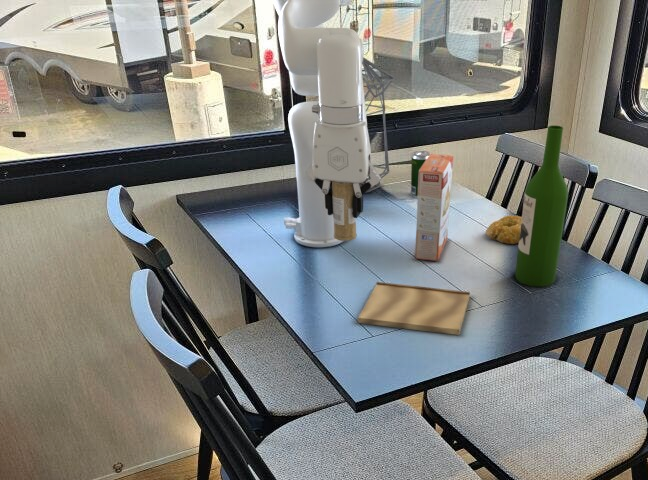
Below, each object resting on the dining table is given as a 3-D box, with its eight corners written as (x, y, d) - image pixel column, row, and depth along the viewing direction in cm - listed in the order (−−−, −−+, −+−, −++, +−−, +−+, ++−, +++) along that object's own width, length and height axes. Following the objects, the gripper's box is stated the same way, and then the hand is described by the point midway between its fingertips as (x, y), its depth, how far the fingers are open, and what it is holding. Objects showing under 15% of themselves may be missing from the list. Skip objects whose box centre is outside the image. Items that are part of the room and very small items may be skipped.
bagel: (484, 229, 176) (485, 211, 173) (526, 231, 176) (529, 213, 173) (486, 244, 168) (487, 226, 165) (531, 246, 168) (533, 227, 165)
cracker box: (439, 262, 158) (444, 172, 146) (414, 259, 159) (416, 169, 147) (449, 239, 170) (454, 154, 158) (425, 237, 170) (428, 152, 159)
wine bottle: (507, 273, 154) (524, 123, 136) (541, 267, 158) (562, 120, 139) (527, 289, 148) (548, 134, 129) (562, 283, 151) (587, 131, 132)
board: (357, 322, 134) (357, 316, 133) (377, 287, 147) (377, 281, 146) (459, 335, 131) (459, 328, 130) (469, 297, 144) (470, 291, 143)
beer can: (419, 200, 193) (421, 157, 186) (406, 195, 196) (407, 152, 189) (433, 196, 196) (435, 153, 189) (420, 191, 199) (421, 149, 192)
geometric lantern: (367, 199, 192) (365, 64, 172) (323, 188, 199) (317, 56, 179) (399, 185, 203) (400, 56, 183) (356, 175, 210) (353, 49, 190)
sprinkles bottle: (360, 239, 132) (359, 170, 125) (338, 243, 131) (335, 173, 123) (351, 231, 136) (350, 163, 128) (329, 234, 134) (326, 165, 126)
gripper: (288, 115, 118) (295, 216, 129) (382, 123, 116) (382, 226, 126) (302, 105, 124) (308, 203, 135) (392, 112, 122) (392, 211, 132)
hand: (344, 213), depth 130 cm, fingers closed on sprinkles bottle, 4 cm apart
